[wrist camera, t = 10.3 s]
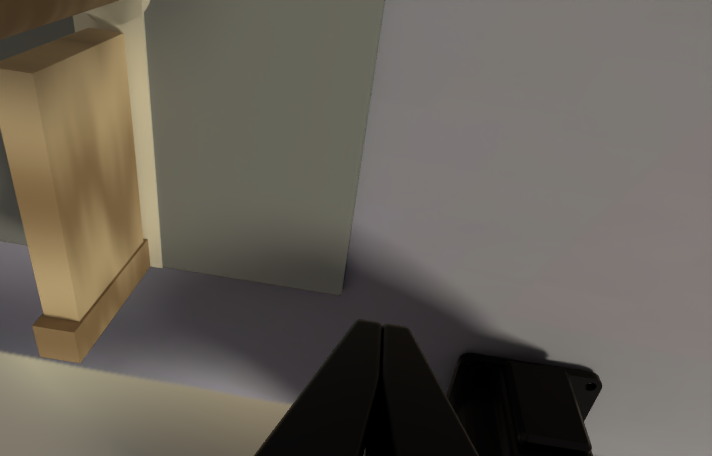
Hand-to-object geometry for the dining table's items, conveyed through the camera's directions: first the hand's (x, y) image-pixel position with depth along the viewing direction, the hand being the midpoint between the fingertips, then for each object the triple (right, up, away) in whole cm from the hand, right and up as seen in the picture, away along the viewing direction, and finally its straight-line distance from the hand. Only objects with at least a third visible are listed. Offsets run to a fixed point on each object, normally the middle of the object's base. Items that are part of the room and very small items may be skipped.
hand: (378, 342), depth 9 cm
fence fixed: (-9, +6, +12) cm, 16 cm away
